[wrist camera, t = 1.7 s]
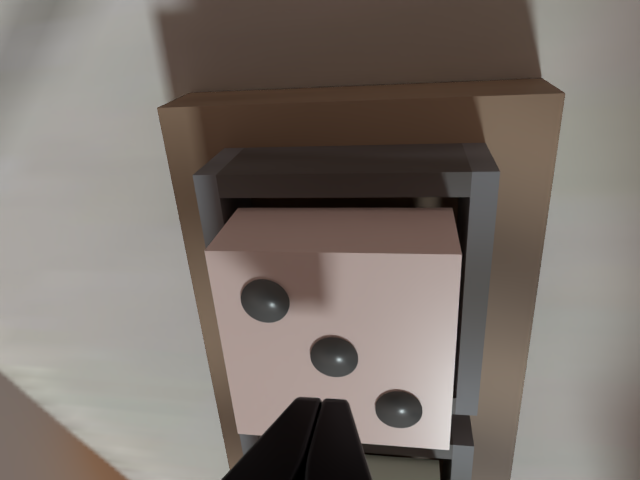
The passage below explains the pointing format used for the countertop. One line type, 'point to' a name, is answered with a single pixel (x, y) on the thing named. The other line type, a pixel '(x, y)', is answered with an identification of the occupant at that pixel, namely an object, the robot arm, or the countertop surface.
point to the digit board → (390, 192)
